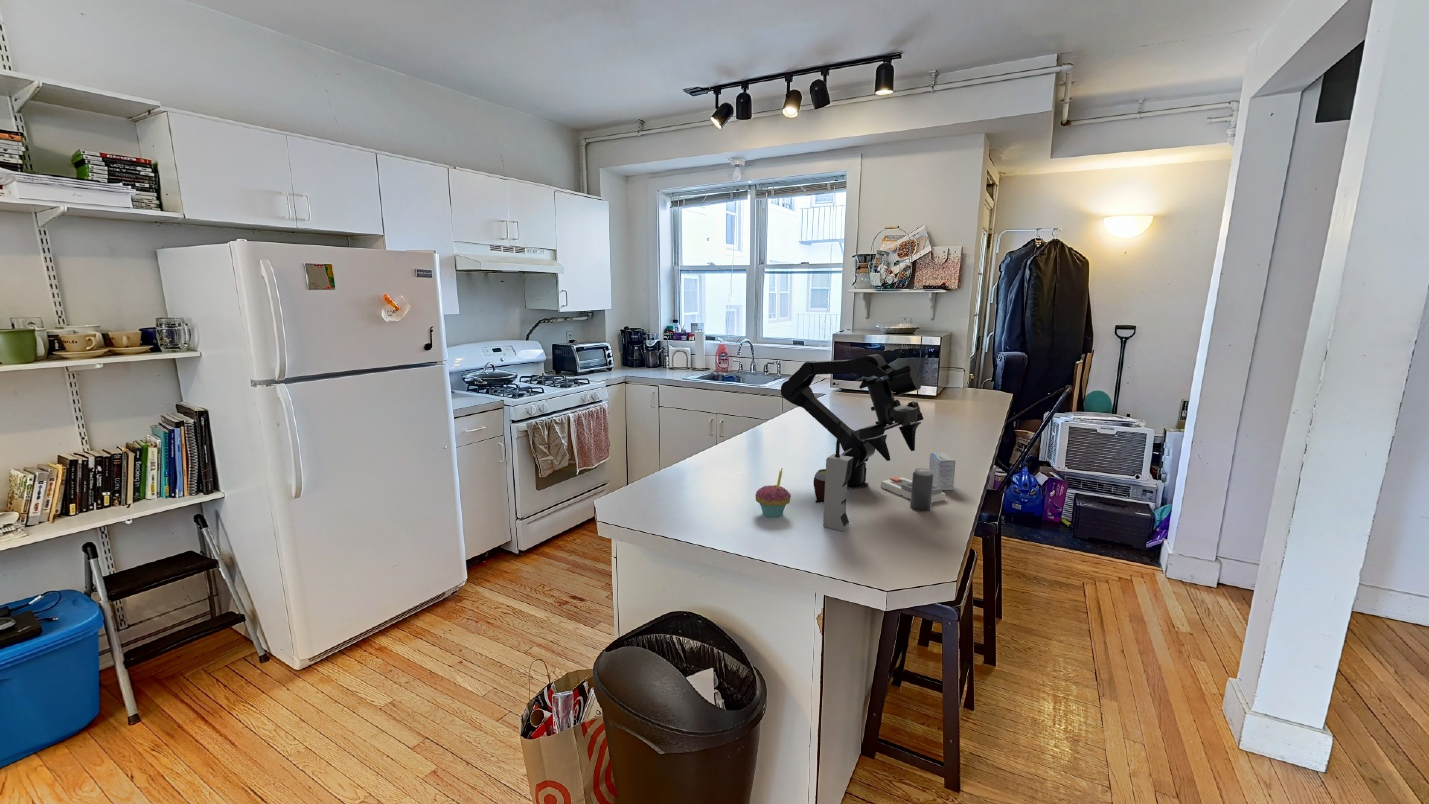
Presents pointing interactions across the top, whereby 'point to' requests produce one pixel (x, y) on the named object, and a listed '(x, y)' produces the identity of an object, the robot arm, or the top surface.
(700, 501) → the top surface
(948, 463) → the medicine box
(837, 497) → the vintage mobile phone
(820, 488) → the mate gourd
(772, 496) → the cupcake
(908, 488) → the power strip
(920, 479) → the grey cylinder
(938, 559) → the top surface
